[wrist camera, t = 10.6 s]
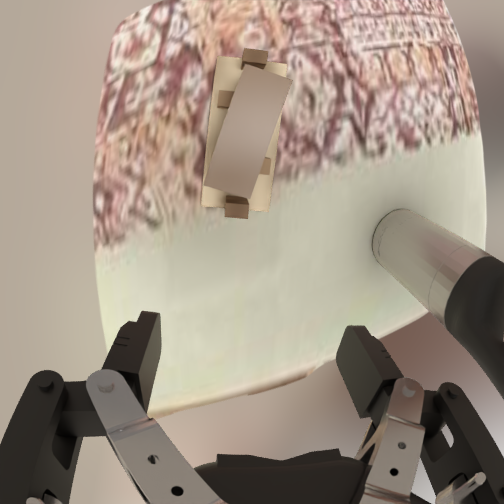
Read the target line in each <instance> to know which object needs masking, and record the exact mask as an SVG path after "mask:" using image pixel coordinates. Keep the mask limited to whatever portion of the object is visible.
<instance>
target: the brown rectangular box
mask: <svg viewBox="0 0 504 504" xmlns="http://www.w3.org/2000/svg"><path fill="white" fill-rule="evenodd" d="M292 81H293V80H291V79H288V78H285V77H283V76H280V75H277V74H275V73H272V72H269V71H266V70H263V69H260V68H257V67H254V66H251V65H247V64H245V66H244V68H243V71H242V73H241V76H240V79H239V81H238V84H237V87H236V89H235V92H234V95H233V97H232V100H231V103H230V106H229V108H228V111H227V114H226V117H225V120H224V122H223V125H222V128H221V131H220V134H219V137H218V140H217V143H216V146H215V149H214V152H213V155H212V158H211V161H210V165H209V168H208V171H207V174H206V177H205V180H204V186H207V187H211V188H214V189H218V190H221V191H224V192H228V193H231V194H234V195H238V196H241V197H244V198H247V199H250V198H251V195H252V192H253V189H254V186H255V184H256V181H257V178H258V175H259V172H260V169H261V166H262V164H263V161H264V158H265V155H266V152H267V149H268V147H269V144H270V141H271V138H272V135H273V133H274V130H275V127H276V124H277V122H278V119H279V116H280V113H281V110H282V108H283V105H284V102H285V100H286V97H287V94H288V91H289V89H290V86H291V83H292Z"/></svg>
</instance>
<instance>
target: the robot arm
mask: <svg viewBox="0 0 504 504" xmlns="http://www.w3.org/2000/svg"><path fill="white" fill-rule="evenodd" d="M373 252H374V256H375V258H376V260H377V261H378V262H379V263H380V264H381V265H382V266H383V267H384V268H385V269H386V270H387V271H388V272H389V273H390V274H391V275H392V276H393V277H395V278H396V279H397V280H398V281H399V282H400V283H401V284H402V285H403V286H404V287H405V288H406V289H407V290H408V291H409V292H410V293H411V294H412V295H413V296H414V297H415V298H416V299H417V300H418V301H419V302H420V303H421V304H422V305H423V306H424V307H425V308H426V309H427V310H428V311H429V312H430V313H431V314H432V315H433V316H434V317H435V318H436V319H437V320H438V321H439V322H440V323H441V324H442V325H444V327H445V328H446V329H447V330H448V331H449V332H450V333H451V334H452V335H453V336H454V338H455V339H456V340H457V341H458V342H459V343H460V344H461V345H462V346H463V347H464V348H465V349H466V350H467V351H468V352H469V353H470V354H471V355H472V357H473V358H474V359H475V360H476V361H477V363H478V364H479V365H480V367H481V368H482V369H483V371H484V372H485V373H486V375H487V376H488V377H489V379H490V380H491V382H492V383H493V384H494V386H495V387H496V389H497V390H498V392H499V393H500V394H501V396H502V398H503V399H504V342H503V337H504V263H503V262H501V261H500V260H498V259H496V258H495V257H493V256H492V255H490V254H488V253H486V252H485V251H484V250H482V249H480V248H478V247H477V246H475V245H473V244H471V243H470V242H468V241H466V240H465V239H463V238H461V237H459V236H457V235H456V234H454V233H452V232H450V231H448V230H447V229H445V228H443V227H441V226H439V225H437V224H435V223H433V222H432V221H430V220H428V219H426V218H424V217H422V216H420V215H418V214H416V213H414V212H412V211H410V210H406V209H399V210H396V211H393V212H391V213H389V214H388V215H387V216H386V217H384V218H383V219H382V221H381V222H380V223H379V225H378V227H377V229H376V231H375V234H374V237H373ZM160 355H161V320H160V313H156V312H148V311H142V312H141V313H140V316H139V318H138V320H137V322H132V321H128V322H127V323H126V324H124V325H123V326H122V327H121V328H120V330H119V332H118V334H117V337H116V338H115V340H114V343H113V345H112V347H111V349H110V351H109V353H108V356H107V358H106V360H105V362H104V365H103V367H102V369H101V370H98V371H96V372H94V373H92V374H91V375H90V376H89V377H88V379H87V381H78V382H77V381H76V382H64V381H63V378H62V376H61V375H60V374H58V373H57V372H54V371H51V370H44V371H40V372H38V373H36V374H35V375H33V376H32V378H31V379H30V381H29V383H28V385H27V387H26V389H25V391H24V393H23V395H22V397H21V399H20V401H19V403H18V405H17V407H16V409H15V412H14V413H13V416H12V418H11V420H10V423H9V425H8V427H7V429H6V432H5V434H4V437H3V439H2V442H1V444H0V504H69V499H70V494H71V488H72V483H73V478H74V473H75V469H76V464H77V460H78V456H79V452H80V448H81V444H82V440H83V437H90V436H106V438H107V440H108V442H109V443H110V445H111V447H112V449H113V451H114V453H115V454H116V456H117V458H118V460H119V461H120V463H121V465H122V466H123V468H124V470H125V472H126V473H127V475H128V476H129V478H130V480H131V481H132V483H133V485H134V486H135V488H136V489H137V491H138V492H139V494H140V495H141V497H142V498H143V500H144V501H145V503H146V504H431V503H429V502H427V501H425V500H424V499H422V498H420V497H419V496H416V495H415V494H413V493H412V492H411V489H412V486H413V482H414V478H415V474H416V471H417V466H418V462H419V457H420V458H421V460H422V463H423V465H424V467H425V470H426V472H427V475H428V477H429V480H430V482H431V485H432V487H433V489H434V492H435V495H436V501H435V504H504V458H503V456H502V454H501V452H500V450H499V448H498V447H497V445H496V443H495V441H494V440H493V438H492V436H491V435H490V433H489V431H488V430H487V428H486V427H485V425H484V423H483V421H482V420H481V418H480V417H479V415H478V413H477V412H476V410H475V409H474V407H473V406H472V404H471V402H470V401H469V399H468V398H467V397H466V395H465V393H464V392H463V390H462V389H461V388H460V387H459V386H457V385H456V384H454V383H450V382H445V383H443V384H441V386H440V387H439V389H438V390H437V391H430V390H424V389H423V387H422V386H421V384H420V383H419V382H417V381H416V380H414V379H411V378H407V377H404V376H403V375H402V373H401V371H400V370H399V368H398V367H397V365H396V364H395V362H394V361H393V359H392V358H391V356H390V355H389V353H388V352H387V350H386V349H385V347H384V346H383V344H382V343H381V342H380V341H379V340H378V339H376V338H375V337H374V336H371V334H370V333H369V331H368V330H367V328H366V327H365V326H347V328H346V329H345V332H344V335H343V337H342V340H341V343H340V345H339V348H338V351H337V354H336V362H337V366H338V368H339V371H340V373H341V375H342V377H343V380H344V382H345V384H346V386H347V389H348V391H349V393H350V396H351V398H352V400H353V403H354V405H355V407H356V410H357V412H358V414H359V417H360V418H366V417H371V419H372V420H371V422H370V423H369V426H368V428H367V430H366V433H365V435H364V438H363V440H362V443H361V445H360V447H359V450H358V452H357V454H356V456H355V458H354V459H353V458H350V457H344V456H341V454H340V451H339V449H332V450H323V451H314V452H309V453H306V454H303V455H300V456H297V457H294V458H290V459H287V460H283V461H282V460H281V461H280V460H273V459H268V458H262V457H257V456H252V455H227V454H217V460H216V462H212V463H207V464H203V465H201V466H198V467H195V468H194V469H193V468H192V467H191V465H190V464H189V463H188V462H187V461H186V459H185V458H184V457H183V456H182V454H181V453H180V452H179V451H178V449H177V448H176V447H175V445H174V444H173V443H172V441H171V440H170V439H169V437H168V436H167V435H166V433H165V432H164V431H163V429H162V428H161V427H160V425H159V424H158V423H157V421H156V420H155V419H154V418H151V419H150V418H149V417H148V416H147V410H148V406H149V401H150V397H151V392H152V388H153V384H154V380H155V375H156V371H157V367H158V363H159V359H160ZM445 424H447V426H448V428H449V429H450V431H451V433H452V435H453V438H454V443H453V445H452V447H451V448H450V447H449V444H448V442H447V441H446V438H445V437H444V435H443V433H442V431H441V429H442V428H443V427H444V426H445Z"/></svg>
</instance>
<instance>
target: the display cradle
mask: <svg viewBox="0 0 504 504" xmlns="http://www.w3.org/2000/svg"><path fill="white" fill-rule="evenodd" d="M267 57H268V51H263V50H255V49H247V48H244V52H243V57H242V58H236V57H224V56H217V63H216V70H215V77H214V84H213V92H212V99H211V108H210V116H209V125H208V134H207V143H206V153H205V164H204V175H203V187H202V200H201V206H206V207H219V208H225V217H232V218H244V219H248V212H249V210H254V211H265V212H269V205H270V198H271V190H272V183H273V175H274V168H275V160H276V152H277V145H278V137H279V129H280V121H281V113H282V110H281V113H280V116H279V119H278V122H277V124H276V127H275V130H274V133H273V135H272V138H271V141H270V144H269V147H268V149H267V152H266V155H265V158H264V161H263V164H262V166H261V169H260V172H259V175H258V178H257V181H256V184H255V186H254V189H253V192H252V195H251V198H250V199H247V198H244V197H241V196H238V195H234V194H231V193H228V192H224V191H221V190H218V189H214V188H211V187H207V186H204V180H205V177H206V174H207V171H208V168H209V165H210V161H211V158H212V155H213V152H214V149H215V146H216V143H217V140H218V137H219V134H220V131H221V128H222V125H223V122H224V120H225V117H226V114H227V111H228V108H229V106H230V103H231V100H232V97H233V95H234V92H235V89H236V87H237V84H238V81H239V79H240V76H241V73H242V71H243V68H244V66H245V64H247V65H251V66H254V67H257V68H260V69H263V70H266V71H269V72H272V73H275V74H277V75H280V76H283V77H285V78H286V72H287V64H281V63H275V62H268V61H267Z"/></svg>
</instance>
